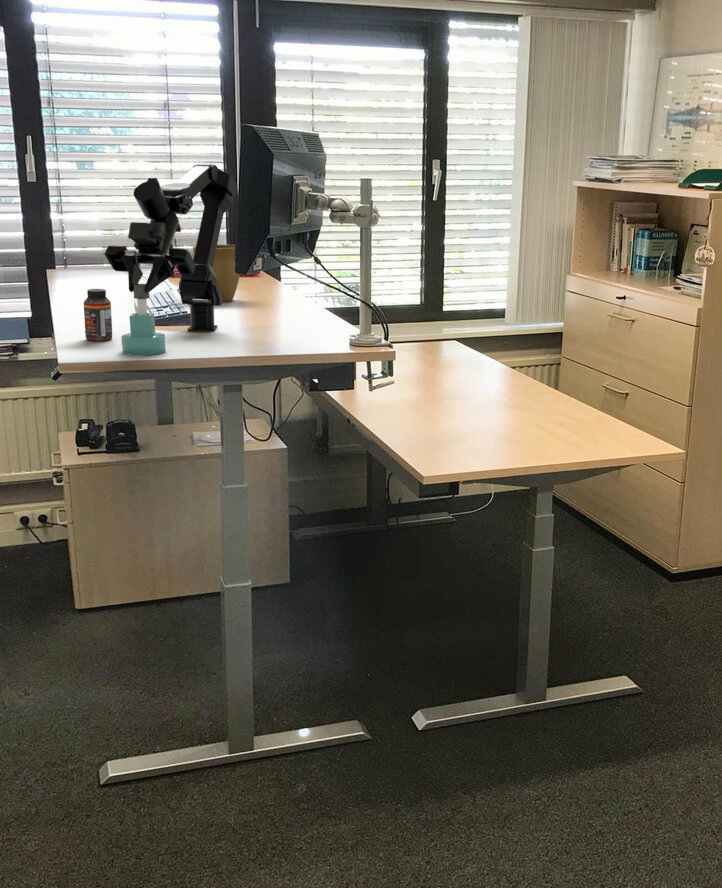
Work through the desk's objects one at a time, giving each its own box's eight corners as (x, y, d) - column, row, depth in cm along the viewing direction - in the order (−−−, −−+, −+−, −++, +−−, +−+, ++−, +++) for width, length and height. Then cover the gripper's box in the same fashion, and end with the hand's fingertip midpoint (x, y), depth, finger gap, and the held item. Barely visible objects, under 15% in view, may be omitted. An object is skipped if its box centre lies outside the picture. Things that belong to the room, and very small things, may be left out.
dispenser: (126, 348, 201) (124, 311, 199) (168, 347, 202) (166, 311, 200) (118, 355, 193) (116, 317, 190) (162, 355, 193) (160, 317, 191)
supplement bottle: (79, 340, 208) (76, 289, 205) (98, 336, 213) (95, 287, 210) (100, 342, 206) (96, 292, 202) (118, 339, 211) (115, 289, 207)
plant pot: (248, 297, 282) (247, 244, 277) (240, 304, 268) (239, 248, 263) (199, 296, 282) (198, 243, 278) (189, 303, 268) (187, 247, 263)
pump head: (137, 321, 197) (135, 283, 195) (151, 321, 197) (150, 283, 195) (133, 324, 194) (131, 285, 192) (148, 324, 194) (147, 285, 192)
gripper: (106, 206, 195) (81, 264, 187) (187, 209, 190) (166, 268, 183) (126, 241, 204) (103, 298, 197) (204, 245, 200) (184, 303, 193)
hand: (138, 291), depth 192 cm, fingers closed on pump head, 3 cm apart
